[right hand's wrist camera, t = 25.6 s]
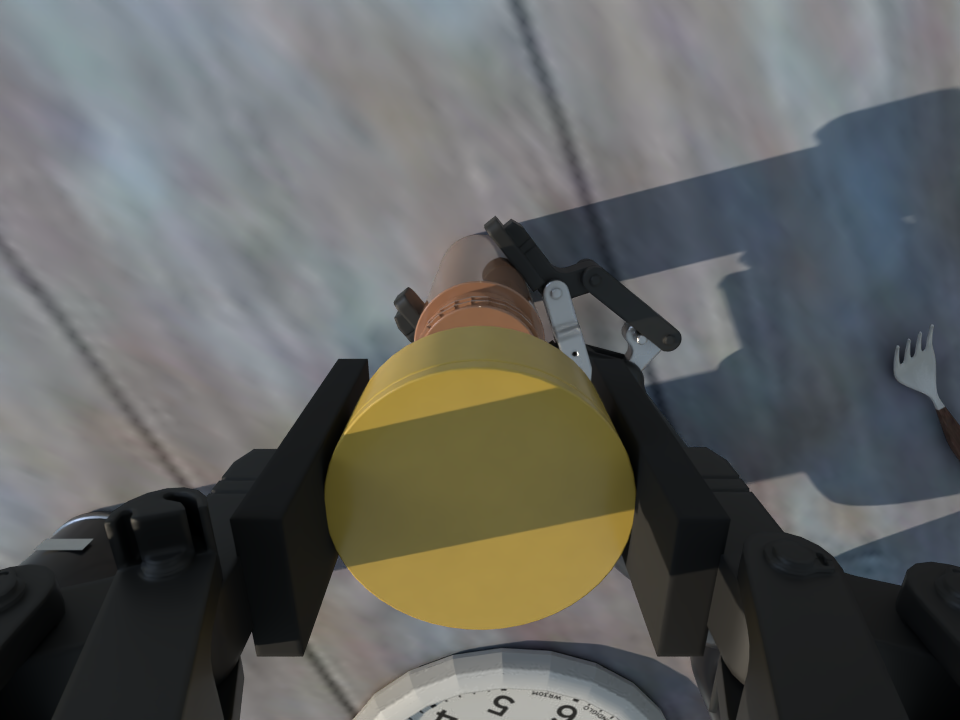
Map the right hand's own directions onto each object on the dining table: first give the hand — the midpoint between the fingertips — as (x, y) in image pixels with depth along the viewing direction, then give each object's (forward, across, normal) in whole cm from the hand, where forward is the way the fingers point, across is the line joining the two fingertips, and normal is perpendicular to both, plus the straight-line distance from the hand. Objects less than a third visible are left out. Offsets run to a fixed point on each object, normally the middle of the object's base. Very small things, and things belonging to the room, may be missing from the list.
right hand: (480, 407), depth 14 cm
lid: (-4, 0, 0) cm, 4 cm away
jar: (+20, 0, -1) cm, 20 cm away
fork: (+19, +31, -10) cm, 38 cm away
